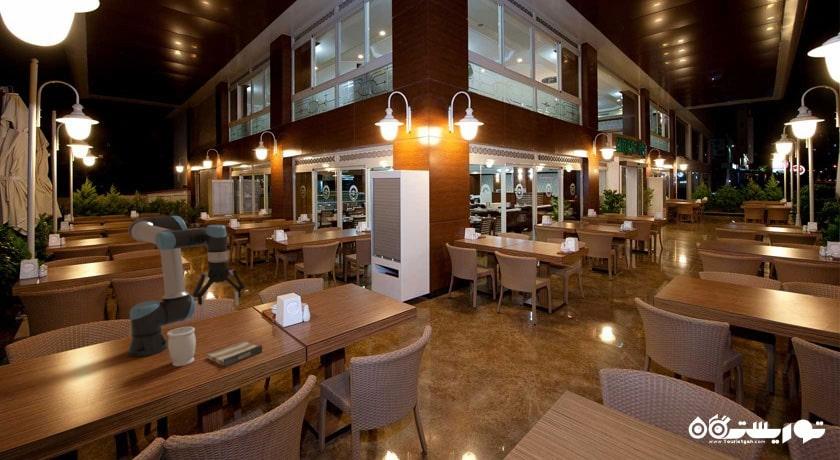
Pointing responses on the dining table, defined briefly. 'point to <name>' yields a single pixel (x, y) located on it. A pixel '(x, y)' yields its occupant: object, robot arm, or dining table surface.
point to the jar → (182, 345)
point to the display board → (234, 353)
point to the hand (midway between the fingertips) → (220, 308)
